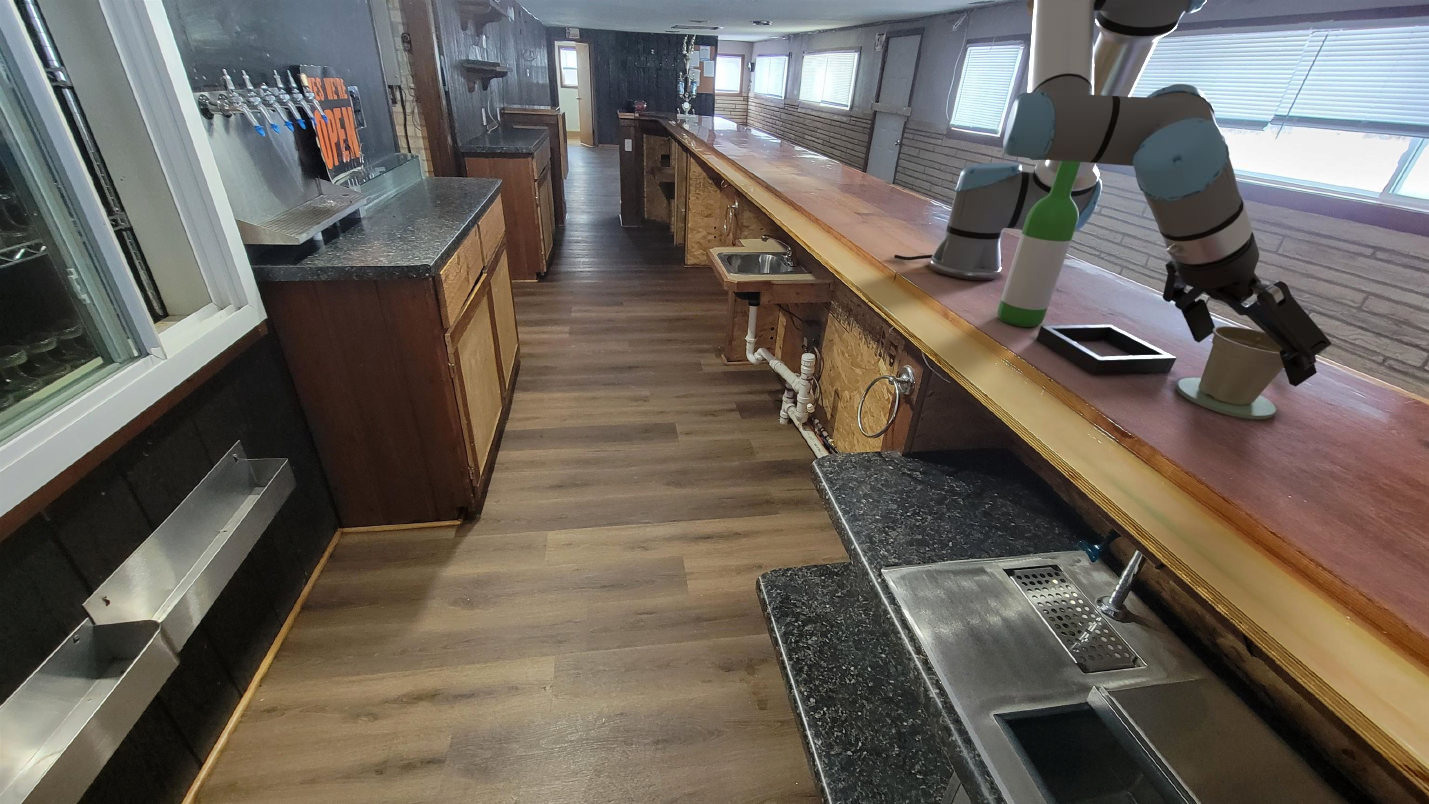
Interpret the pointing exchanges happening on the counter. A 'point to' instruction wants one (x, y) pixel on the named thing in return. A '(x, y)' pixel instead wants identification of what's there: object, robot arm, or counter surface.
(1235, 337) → the flower pot
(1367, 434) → the counter surface
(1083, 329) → the holder
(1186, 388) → the coaster
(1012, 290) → the wine bottle
